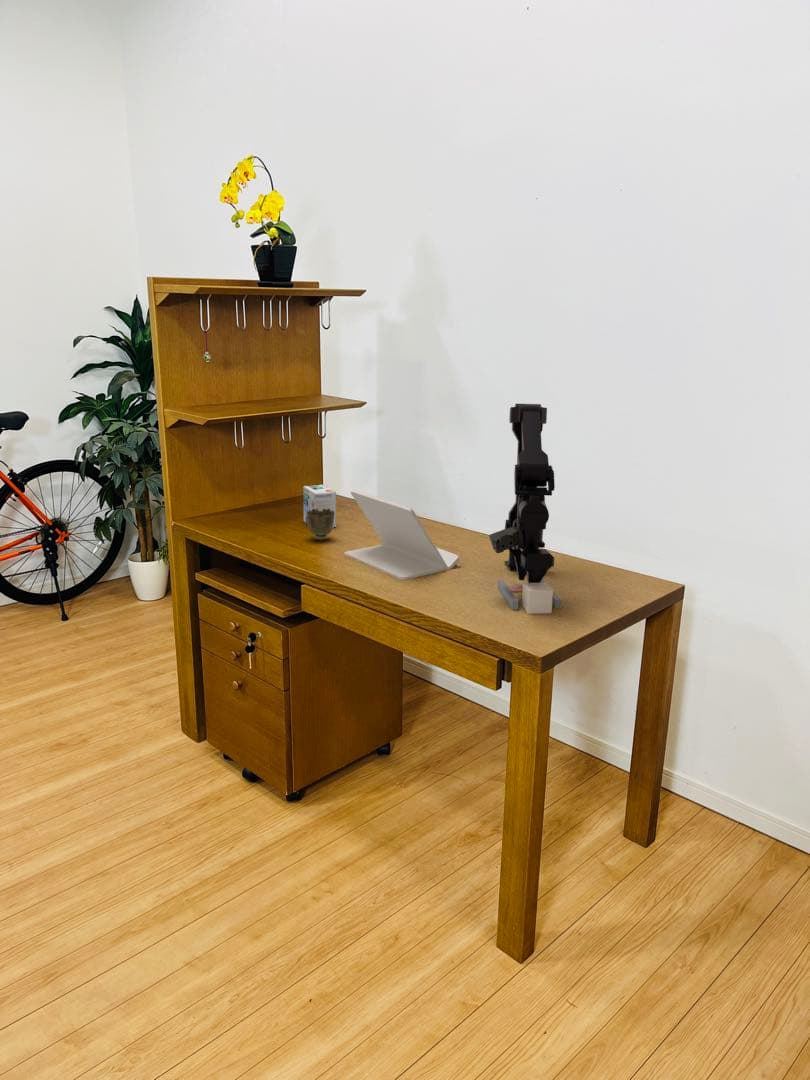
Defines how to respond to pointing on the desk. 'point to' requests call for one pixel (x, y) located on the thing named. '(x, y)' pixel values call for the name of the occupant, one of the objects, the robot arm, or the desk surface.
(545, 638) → the desk surface
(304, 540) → the desk surface
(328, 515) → the cup
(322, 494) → the light bulb box
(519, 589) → the u-shaped bracket
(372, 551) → the tablet stand
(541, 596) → the cream block
